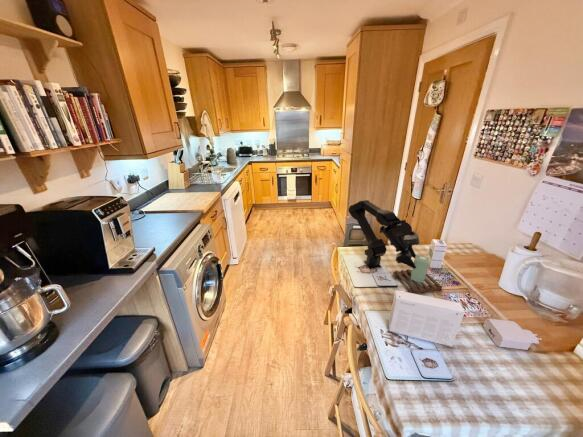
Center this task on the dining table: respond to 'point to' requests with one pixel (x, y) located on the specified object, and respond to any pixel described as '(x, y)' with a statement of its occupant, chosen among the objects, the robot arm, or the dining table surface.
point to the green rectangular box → (420, 268)
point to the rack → (417, 289)
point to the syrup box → (436, 253)
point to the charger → (509, 334)
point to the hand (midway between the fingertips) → (415, 262)
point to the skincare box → (425, 317)
